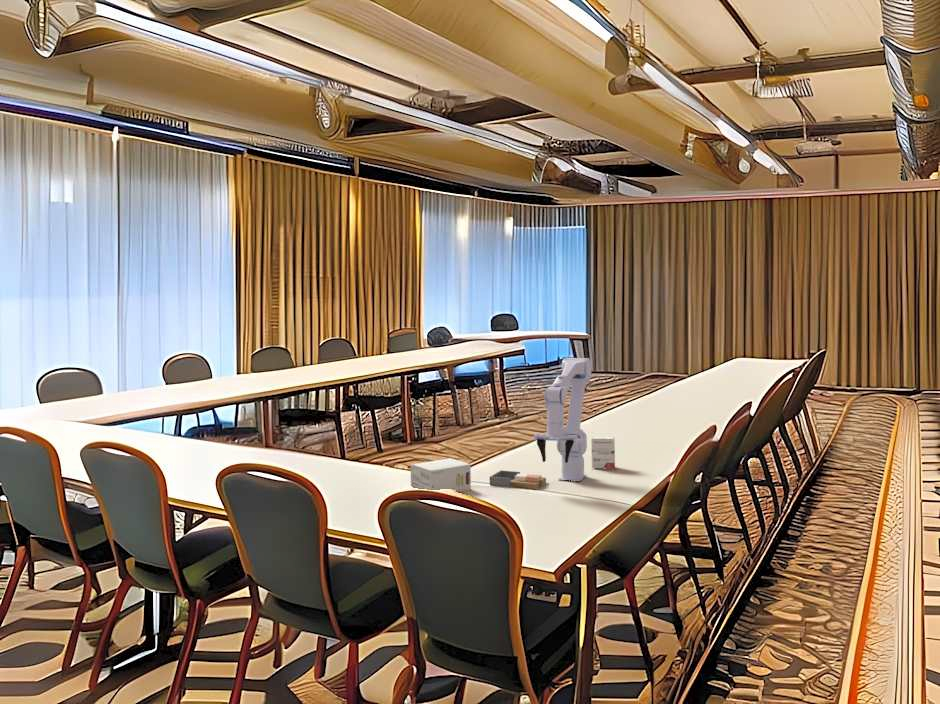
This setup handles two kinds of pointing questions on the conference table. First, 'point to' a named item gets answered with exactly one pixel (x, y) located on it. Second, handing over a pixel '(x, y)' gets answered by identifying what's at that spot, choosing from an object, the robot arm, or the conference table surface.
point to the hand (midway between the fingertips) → (555, 461)
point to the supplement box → (441, 475)
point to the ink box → (603, 452)
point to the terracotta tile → (534, 478)
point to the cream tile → (521, 477)
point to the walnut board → (527, 484)
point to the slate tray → (503, 478)
